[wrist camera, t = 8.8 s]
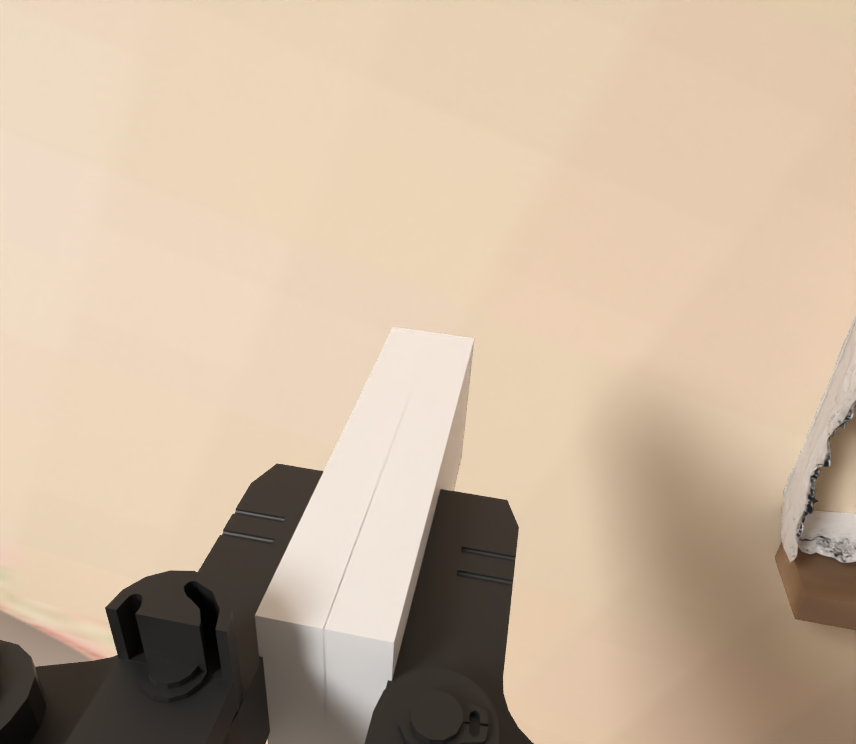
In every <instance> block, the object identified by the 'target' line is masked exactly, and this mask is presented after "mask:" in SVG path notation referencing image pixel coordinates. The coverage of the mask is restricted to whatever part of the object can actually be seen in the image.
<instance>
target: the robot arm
mask: <svg viewBox="0 0 856 744" xmlns="http://www.w3.org/2000/svg"><path fill="white" fill-rule="evenodd" d="M473 346H474V338H469V337H462V336H455V335H448V334H441V333H434V332H427V331H420V330H413V329H406V328H399V327H392V330H391V332H390V334H389V336H388V338H387V340H386V342H385V344H384V346H383V348H382V350H381V353H380V355H379V357H378V359H377V361H376V363H375V365H374V367H373V369H372V371H371V373H370V376H369V378H368V380H367V382H366V384H365V386H364V388H363V390H362V392H361V394H360V396H359V399H358V401H357V403H356V405H355V407H354V409H353V411H352V413H351V415H350V417H349V419H348V422H347V424H346V426H345V428H344V430H343V432H342V434H341V436H340V438H339V440H338V442H337V445H336V447H335V449H334V451H333V453H332V455H331V457H330V459H329V461H328V463H327V465H326V468H325V470H324V471H318V470H312V469H306V468H300V467H295V466H289V465H283V464H276V465H275V466H273V467H272V468H271V469H269V470H268V471H267V472H265V473H264V474H263V475H261V476H260V477H259V478H257V479H256V480H255V481H254V482H252V483H251V484H250V486H249V488H248V489H247V491H246V493H245V494H244V496H243V498H242V499H241V501H240V503H239V504H238V506H237V508H236V512H235V514H232V516H231V518H230V519H229V521H228V523H227V524H226V526H225V528H224V529H223V534H222V535H220V536H219V538H218V539H217V541H216V543H215V544H214V546H213V548H212V549H211V551H210V553H209V554H208V556H207V558H206V559H205V561H204V563H203V564H202V566H201V568H200V569H199V571H198V572H195V571H167V572H163V573H159V574H155V575H151V576H147V577H145V578H143V579H141V580H139V581H138V582H136V583H134V584H132V585H130V586H129V587H127V588H125V589H123V590H122V591H121V592H120V593H119V594H118V595H117V596H116V597H115V598H114V599H113V600H112V601H111V602H110V603H109V604H108V605H107V606H106V607H105V609H106V613H107V617H108V620H109V624H110V628H111V631H112V635H113V639H114V643H115V646H116V650H117V654H118V655H117V656H114V657H111V658H105V659H100V660H95V661H88V662H78V663H68V664H59V665H49V666H39V667H35V666H34V663H33V660H32V658H31V656H29V655H28V654H27V653H26V652H25V651H24V650H23V649H22V648H21V647H20V646H19V645H17V644H13V643H10V642H6V641H2V640H0V744H265V743H266V741H267V738H268V744H533V743H532V742H531V741H530V740H529V739H528V738H527V736H526V735H525V734H524V733H523V732H522V731H521V730H520V729H519V728H518V726H517V725H516V723H515V721H514V719H513V718H512V716H511V714H510V712H509V711H508V707H507V704H506V701H505V697H504V694H503V671H504V662H505V652H506V643H507V633H508V624H509V614H510V605H511V596H512V584H513V577H514V567H515V557H516V548H517V539H518V529H519V527H518V524H517V522H516V520H515V517H514V515H513V513H512V510H511V508H510V506H509V503H508V501H507V500H503V499H497V498H491V497H485V496H479V495H473V494H467V493H461V492H455V491H454V487H455V483H456V479H457V474H458V470H459V466H460V461H461V457H462V447H463V438H464V429H465V420H466V411H467V401H468V392H469V383H470V374H471V364H472V355H473Z"/></svg>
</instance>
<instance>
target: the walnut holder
mask: <svg viewBox="0 0 856 744" xmlns="http://www.w3.org/2000/svg"><path fill="white" fill-rule="evenodd" d="M785 554H786V552H785V551H784V547H783V543H781V545H780V548H779V550H778V552H777V555H776V557H775V560H776V563H777V566H778V569H779V572H780V575H781V578H782V581H783V584H784V587H785V590H786V593H787V596H788V599H789V602H790V605H791V608H792V611H793V614H794V617H795V619H798V620H803V621H809V622H814V623H820V624H825V625H831V626H836V627H842V628H847V629H853V630H856V562H849V563H843V562H840V561H838V560H837V559H835V558H833V557H828V556H824V555H821V554H819V553H817V552H815V553H812V554H808V553H805V552H802V551H801V550H800V548H799V547H798V552H797V557H796V558H795V559H794V560H793V561H791V563H790V562H789V559H788V556H787V554H786V555H785ZM786 560H787V562H786Z"/></svg>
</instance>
